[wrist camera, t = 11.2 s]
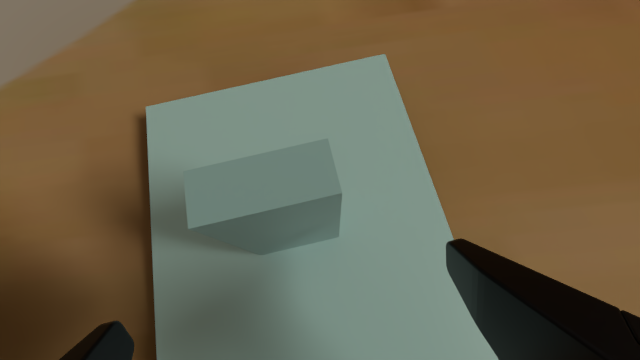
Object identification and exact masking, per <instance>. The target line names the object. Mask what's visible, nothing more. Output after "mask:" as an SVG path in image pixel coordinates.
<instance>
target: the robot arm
mask: <svg viewBox="0 0 640 360" xmlns="http://www.w3.org/2000/svg"><path fill="white" fill-rule="evenodd" d="M446 267H447V270H448V273H449V275H450V277H451V279H452V281H453V282H454V284H455V286H456V288H457V290H458V292H459V294H460V296H461V298H462V300H463V301H464V303H465V305H466V307H467V309H468V311H469V313H470V315H471V317H472V318H473V320H474V322H475V324H476V325H477V327H478V329H479V330H480V332H481V333H482V335H483V336H484V338H485V339H486V341H487V342H488V344H489V345H490V347H491V348H492V350H493V351H494V353H495V354H496V356H497V357H498V359H499V360H640V317H637V316H635V315H633V314H631V313H628V312H626V311H624V310H622V311H620V310H619V308H617V307H615V306H613V305H610V304H608V303H606V302H604V301H601V300H599V299H597V298H595V297H592V296H590V295H588V294H586V293H583V292H581V291H579V290H577V289H574V288H572V287H570V286H568V285H565V284H563V283H561V282H559V281H556V280H554V279H552V278H550V277H547V276H545V275H543V274H541V273H539V272H536V271H534V270H532V269H530V268H527V267H525V266H523V265H521V264H518V263H516V262H514V261H512V260H509V259H507V258H505V257H503V256H500V255H498V254H496V253H494V252H491V251H489V250H487V249H485V248H482V247H480V246H478V245H476V244H473V243H471V242H469V241H467V240H464V239H456V240H452V241H448V242H447V243H446ZM133 351H134V342H133V339H132V338H131V336H130V335H129V333H128V332H127V331H126V329H125V328H124V326H123V325H122V324H121V322H119V321H112V322H108V323H104V324H101V325H99V326H98V327H97V328H96V329H94V330H93V331H92V332H91V333H90V334H89V335H87V336H86V337H85V338H84V339H83V340H82V341H80V342H79V343H78V344H77V345H76V346H75V347H73V348H72V349H71V350H70V351H69V352H67V353H66V354H65V355H64V356H63V357H62V358H60V359H59V360H132V356H133Z"/></svg>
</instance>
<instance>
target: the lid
mask: <svg viewBox="0 0 640 360" xmlns="http://www.w3.org/2000/svg"><path fill="white" fill-rule="evenodd" d="M146 121H147V145H148V168H149V191H150V214H151V238H152V261H153V284H154V307H155V331H156V354H157V360H498V358H497V356H496V354H495V353H494V351H493V350H492V348H491V347H490V345H489V344H488V342H487V341H486V339H485V338H484V336H483V335H482V333H481V332H480V330H479V329H478V327H477V325H476V324H475V322H474V320H473V318H472V317H471V315H470V313H469V311H468V309H467V307H466V305H465V303H464V301H463V300H462V298H461V296H460V294H459V292H458V290H457V288H456V286H455V284H454V282H453V281H452V279H451V277H450V275H449V273H448V270H447V267H446V243H447V242H448V241H452V240H454V239H453V236H452V234H451V231H450V228H449V226H448V223H447V220H446V217H445V215H444V212H443V209H442V207H441V204H440V201H439V199H438V196H437V193H436V190H435V188H434V185H433V182H432V180H431V177H430V174H429V172H428V169H427V166H426V163H425V161H424V158H423V155H422V153H421V150H420V147H419V145H418V142H417V139H416V136H415V134H414V131H413V128H412V126H411V123H410V120H409V118H408V115H407V112H406V109H405V107H404V104H403V101H402V99H401V96H400V93H399V91H398V88H397V85H396V82H395V80H394V77H393V74H392V72H391V69H390V66H389V64H388V61H387V58H386V55H385V54H382V55H378V56H373V57H369V58H364V59H359V60H355V61H350V62H346V63H341V64H337V65H332V66H328V67H323V68H319V69H314V70H310V71H305V72H301V73H296V74H292V75H287V76H283V77H278V78H274V79H269V80H265V81H260V82H256V83H251V84H247V85H242V86H238V87H233V88H229V89H224V90H220V91H215V92H211V93H206V94H202V95H197V96H193V97H188V98H184V99H179V100H175V101H170V102H166V103H161V104H157V105H152V106H148V107H146Z"/></svg>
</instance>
